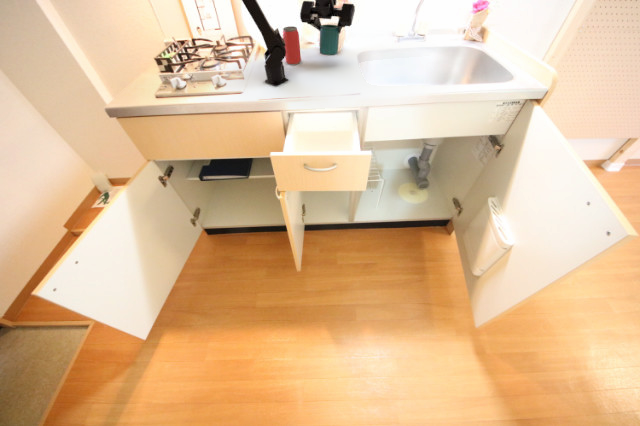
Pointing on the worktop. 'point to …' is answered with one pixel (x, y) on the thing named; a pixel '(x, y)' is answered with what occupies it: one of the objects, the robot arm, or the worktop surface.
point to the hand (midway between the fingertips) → (330, 31)
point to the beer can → (292, 45)
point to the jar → (329, 39)
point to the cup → (341, 35)
